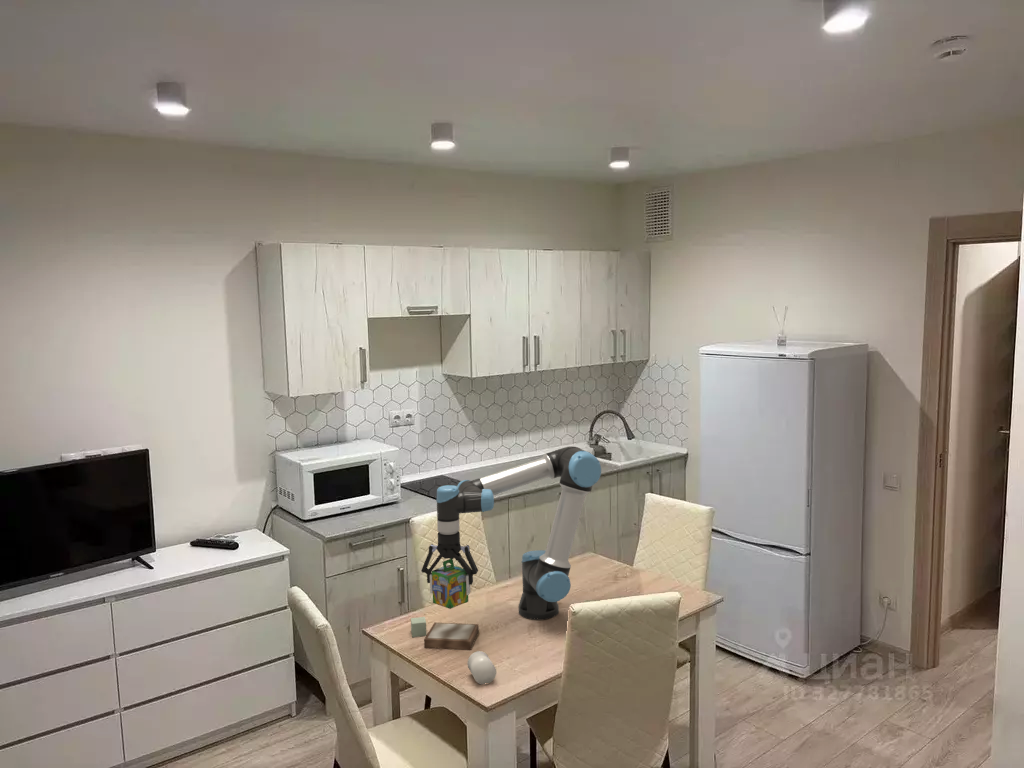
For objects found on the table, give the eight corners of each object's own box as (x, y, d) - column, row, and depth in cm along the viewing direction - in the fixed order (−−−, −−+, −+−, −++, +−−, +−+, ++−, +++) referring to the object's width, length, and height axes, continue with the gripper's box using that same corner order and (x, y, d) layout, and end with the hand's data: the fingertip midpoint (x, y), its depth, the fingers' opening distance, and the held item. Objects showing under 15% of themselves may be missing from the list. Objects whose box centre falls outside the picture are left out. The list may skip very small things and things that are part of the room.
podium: (478, 632, 266) (478, 623, 265) (470, 650, 252) (470, 640, 252) (434, 630, 268) (434, 621, 268) (424, 647, 254) (424, 638, 254)
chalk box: (449, 610, 252) (448, 567, 251) (431, 603, 258) (430, 561, 257) (469, 601, 259) (468, 560, 258) (451, 595, 265) (450, 554, 264)
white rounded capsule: (488, 649, 237) (495, 660, 229) (489, 670, 237) (496, 682, 230) (466, 653, 234) (473, 664, 227) (468, 674, 235) (474, 686, 228)
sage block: (425, 630, 269) (424, 616, 268) (426, 636, 264) (426, 622, 264) (411, 631, 268) (410, 618, 267) (412, 637, 263) (411, 623, 263)
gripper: (485, 529, 258) (487, 589, 260) (417, 527, 262) (419, 587, 264) (481, 535, 251) (483, 598, 253) (411, 533, 254) (413, 595, 257)
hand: (450, 592), depth 258 cm, fingers closed on chalk box, 12 cm apart
